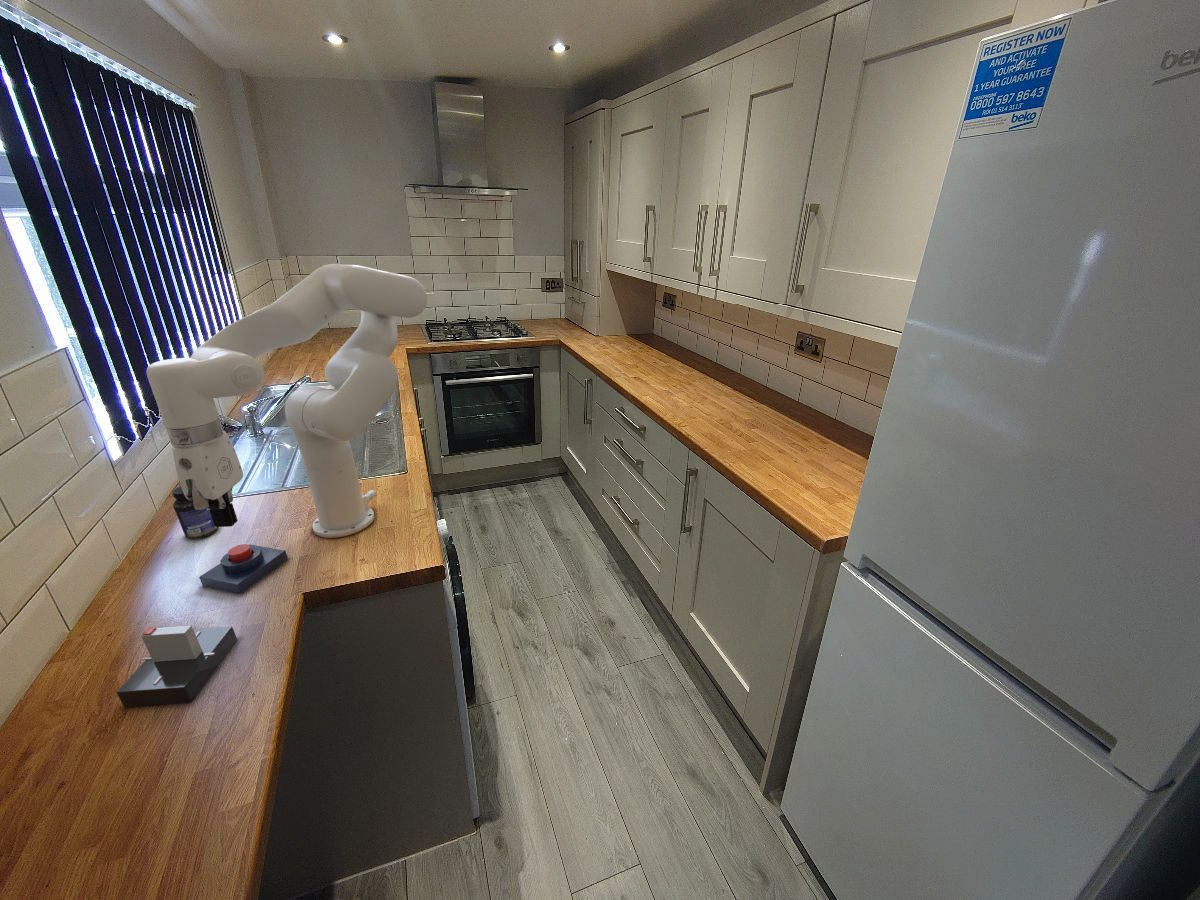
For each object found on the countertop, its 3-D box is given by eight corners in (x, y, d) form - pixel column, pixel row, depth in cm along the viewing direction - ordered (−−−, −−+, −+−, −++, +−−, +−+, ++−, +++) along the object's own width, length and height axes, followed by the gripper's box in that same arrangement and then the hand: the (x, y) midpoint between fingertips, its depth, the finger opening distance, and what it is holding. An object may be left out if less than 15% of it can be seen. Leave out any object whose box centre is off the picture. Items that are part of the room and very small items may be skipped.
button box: (252, 553, 108) (246, 536, 106) (288, 559, 105) (283, 542, 104) (202, 586, 98) (195, 569, 96) (240, 594, 96) (234, 576, 94)
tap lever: (202, 651, 79) (191, 623, 77) (196, 659, 77) (184, 631, 75) (160, 654, 79) (148, 626, 76) (153, 662, 77) (140, 634, 75)
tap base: (176, 644, 84) (169, 629, 83) (241, 640, 85) (236, 625, 84) (119, 708, 73) (110, 691, 72) (195, 702, 74) (188, 686, 73)
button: (242, 550, 102) (239, 542, 101) (256, 553, 101) (254, 545, 101) (225, 561, 99) (222, 553, 98) (240, 563, 98) (238, 556, 97)
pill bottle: (226, 527, 117) (210, 483, 112) (199, 542, 111) (181, 497, 107) (205, 523, 119) (189, 480, 114) (178, 538, 113) (160, 493, 109)
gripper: (191, 447, 83) (224, 546, 90) (242, 416, 97) (268, 504, 104) (141, 449, 82) (178, 548, 90) (200, 418, 96) (228, 505, 103)
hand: (226, 524), depth 97 cm, fingers closed
